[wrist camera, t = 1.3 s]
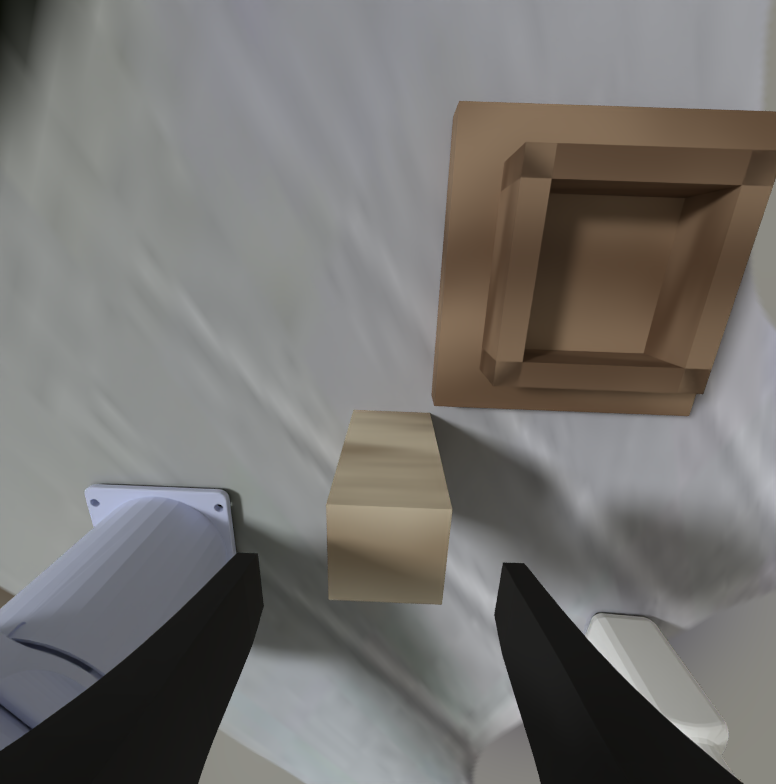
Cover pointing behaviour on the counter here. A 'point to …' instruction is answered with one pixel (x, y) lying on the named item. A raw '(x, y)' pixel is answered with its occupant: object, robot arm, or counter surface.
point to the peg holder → (594, 253)
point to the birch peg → (388, 512)
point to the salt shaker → (660, 678)
